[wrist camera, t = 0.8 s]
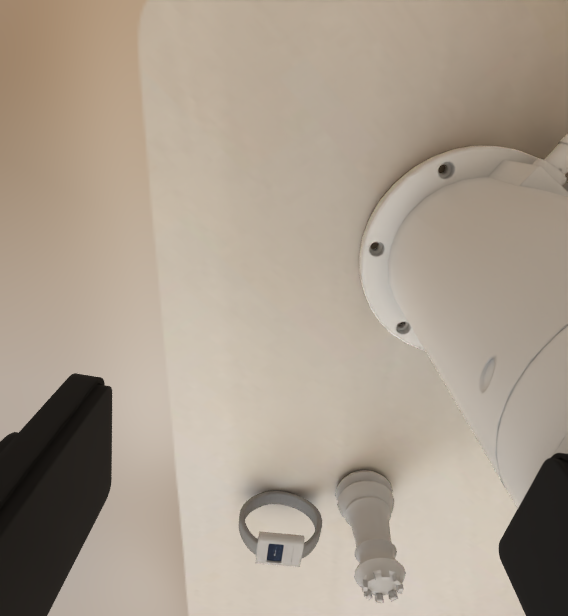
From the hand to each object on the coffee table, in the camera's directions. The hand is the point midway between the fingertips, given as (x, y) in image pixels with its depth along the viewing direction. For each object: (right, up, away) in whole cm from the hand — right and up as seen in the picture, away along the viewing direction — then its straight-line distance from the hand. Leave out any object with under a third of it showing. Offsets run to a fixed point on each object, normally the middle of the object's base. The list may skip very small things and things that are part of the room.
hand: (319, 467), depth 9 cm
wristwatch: (-1, -12, +25) cm, 28 cm away
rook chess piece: (+5, -11, +25) cm, 28 cm away
